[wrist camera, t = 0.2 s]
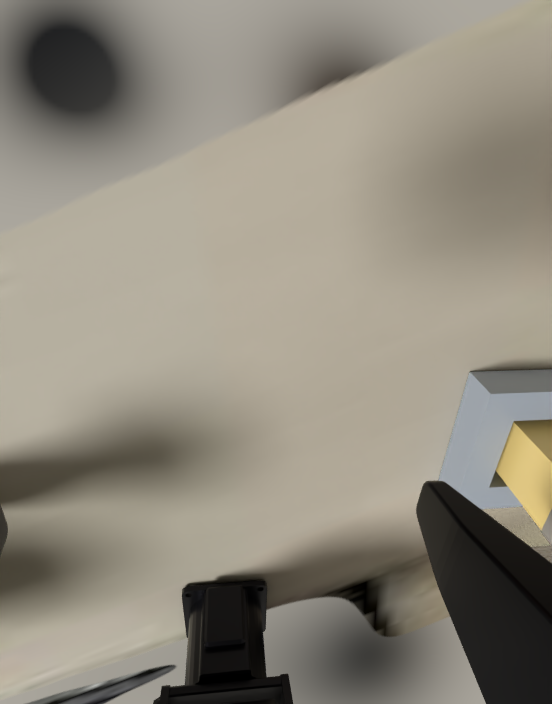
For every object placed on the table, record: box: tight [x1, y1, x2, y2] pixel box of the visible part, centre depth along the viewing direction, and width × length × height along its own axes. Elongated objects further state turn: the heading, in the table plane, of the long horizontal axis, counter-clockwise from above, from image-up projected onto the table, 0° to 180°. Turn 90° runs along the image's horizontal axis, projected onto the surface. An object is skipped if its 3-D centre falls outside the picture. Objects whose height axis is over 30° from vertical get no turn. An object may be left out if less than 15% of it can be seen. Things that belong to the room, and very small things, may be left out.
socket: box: [438, 369, 552, 509], centre depth 28 cm, size 9×9×2 cm
